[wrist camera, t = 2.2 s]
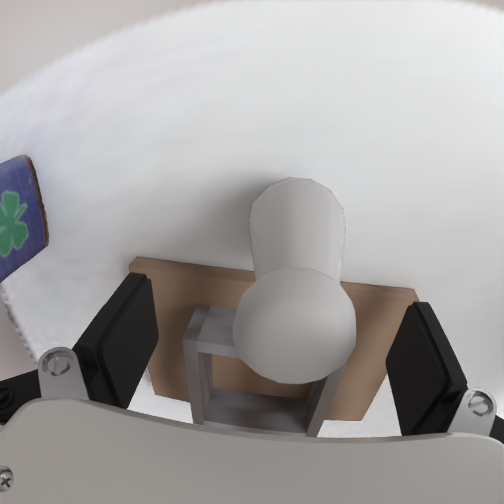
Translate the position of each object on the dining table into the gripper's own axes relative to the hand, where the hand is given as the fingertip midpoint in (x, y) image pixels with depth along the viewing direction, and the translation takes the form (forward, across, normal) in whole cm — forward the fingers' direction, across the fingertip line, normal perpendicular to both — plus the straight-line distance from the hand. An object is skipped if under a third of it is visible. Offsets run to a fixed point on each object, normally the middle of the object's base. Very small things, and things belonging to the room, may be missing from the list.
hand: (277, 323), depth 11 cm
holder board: (+12, 0, +13) cm, 17 cm away
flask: (+12, +22, +1) cm, 25 cm away
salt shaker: (+12, -1, 0) cm, 12 cm away
